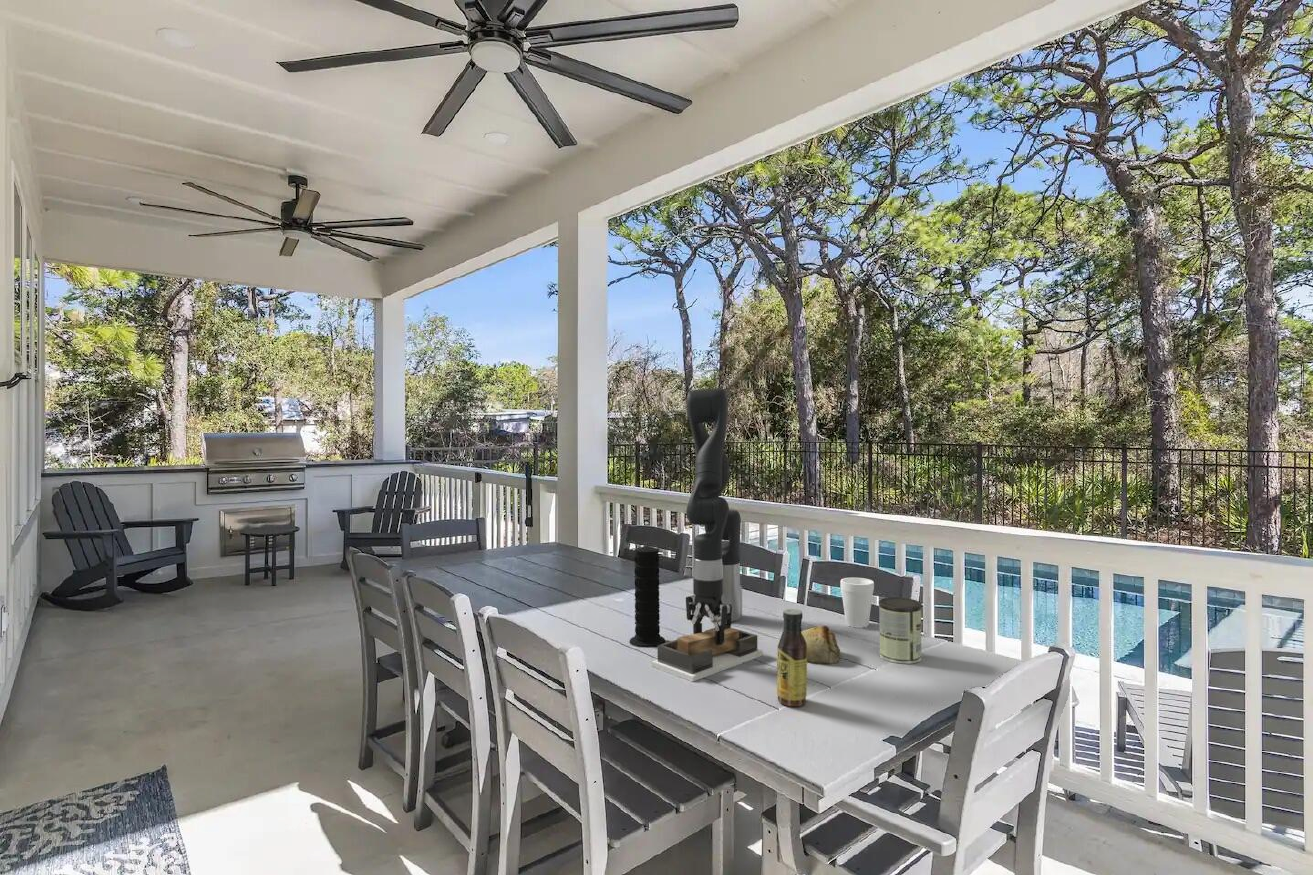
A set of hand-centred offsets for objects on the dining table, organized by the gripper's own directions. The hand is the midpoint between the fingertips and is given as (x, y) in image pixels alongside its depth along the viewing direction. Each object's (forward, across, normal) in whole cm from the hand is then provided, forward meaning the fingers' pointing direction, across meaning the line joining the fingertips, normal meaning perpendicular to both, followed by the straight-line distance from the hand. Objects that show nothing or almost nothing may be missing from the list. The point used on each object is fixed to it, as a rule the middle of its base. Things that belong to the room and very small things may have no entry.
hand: (708, 641), depth 173 cm
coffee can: (+5, -32, -37) cm, 49 cm away
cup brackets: (+4, 0, 0) cm, 4 cm away
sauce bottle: (+5, -30, +6) cm, 31 cm away
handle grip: (+5, +22, +1) cm, 23 cm away
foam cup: (+5, -10, -54) cm, 55 cm away
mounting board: (+5, 0, 0) cm, 5 cm away
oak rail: (+3, 0, 0) cm, 3 cm away
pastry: (+5, -16, -23) cm, 28 cm away
